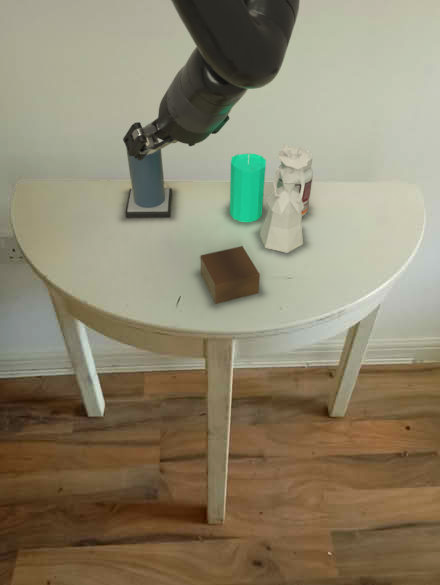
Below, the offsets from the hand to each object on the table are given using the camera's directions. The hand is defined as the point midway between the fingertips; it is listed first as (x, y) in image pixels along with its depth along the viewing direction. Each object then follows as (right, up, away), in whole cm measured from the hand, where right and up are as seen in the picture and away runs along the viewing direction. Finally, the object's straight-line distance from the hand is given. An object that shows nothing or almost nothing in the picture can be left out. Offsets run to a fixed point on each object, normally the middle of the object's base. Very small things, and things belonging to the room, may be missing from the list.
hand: (163, 146), depth 76 cm
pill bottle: (+22, -7, +16) cm, 28 cm away
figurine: (+19, -13, +10) cm, 25 cm away
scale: (-5, -6, +17) cm, 19 cm away
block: (+10, -21, +2) cm, 23 cm away
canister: (-4, -5, +16) cm, 17 cm away
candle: (+13, -8, +16) cm, 22 cm away
